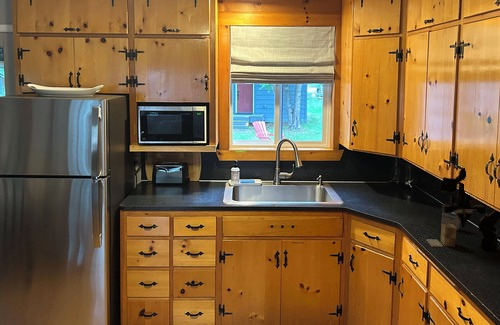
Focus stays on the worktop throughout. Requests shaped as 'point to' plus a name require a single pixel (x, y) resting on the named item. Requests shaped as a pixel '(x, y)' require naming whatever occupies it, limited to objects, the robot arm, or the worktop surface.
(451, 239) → the wooden block
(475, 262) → the worktop surface
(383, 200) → the worktop surface
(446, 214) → the medicine box
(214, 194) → the worktop surface
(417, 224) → the worktop surface
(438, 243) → the mat
